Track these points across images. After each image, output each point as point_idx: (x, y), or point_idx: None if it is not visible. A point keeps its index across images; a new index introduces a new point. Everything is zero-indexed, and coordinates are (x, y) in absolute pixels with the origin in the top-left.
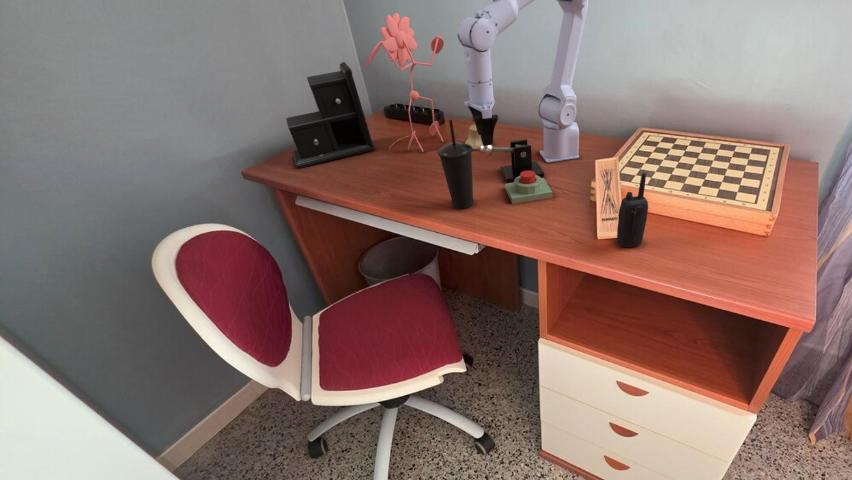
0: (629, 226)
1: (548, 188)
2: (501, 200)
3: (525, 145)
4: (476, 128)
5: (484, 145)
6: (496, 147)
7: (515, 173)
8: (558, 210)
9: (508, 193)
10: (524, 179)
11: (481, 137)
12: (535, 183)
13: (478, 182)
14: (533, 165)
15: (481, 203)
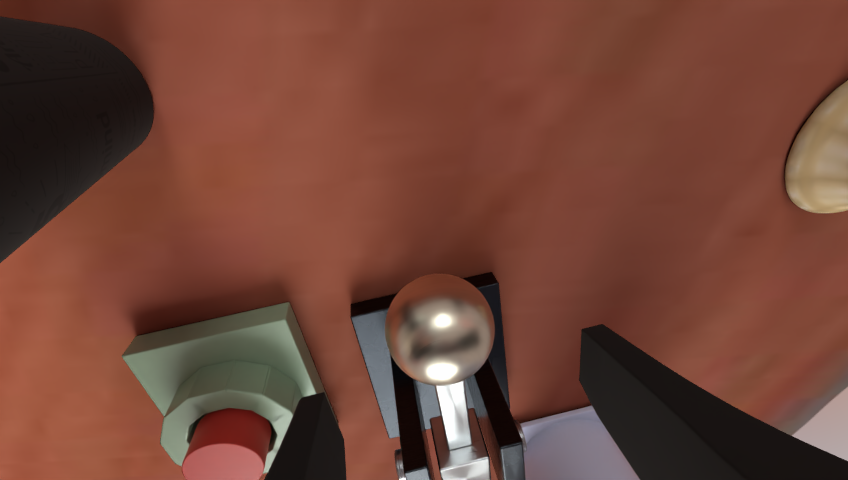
0: None
1: None
2: (170, 291)
3: None
4: (642, 352)
5: (300, 405)
6: (457, 383)
7: None
8: (109, 474)
9: (206, 329)
10: (189, 448)
11: (269, 473)
12: None
13: (381, 171)
14: (471, 403)
15: (122, 201)
